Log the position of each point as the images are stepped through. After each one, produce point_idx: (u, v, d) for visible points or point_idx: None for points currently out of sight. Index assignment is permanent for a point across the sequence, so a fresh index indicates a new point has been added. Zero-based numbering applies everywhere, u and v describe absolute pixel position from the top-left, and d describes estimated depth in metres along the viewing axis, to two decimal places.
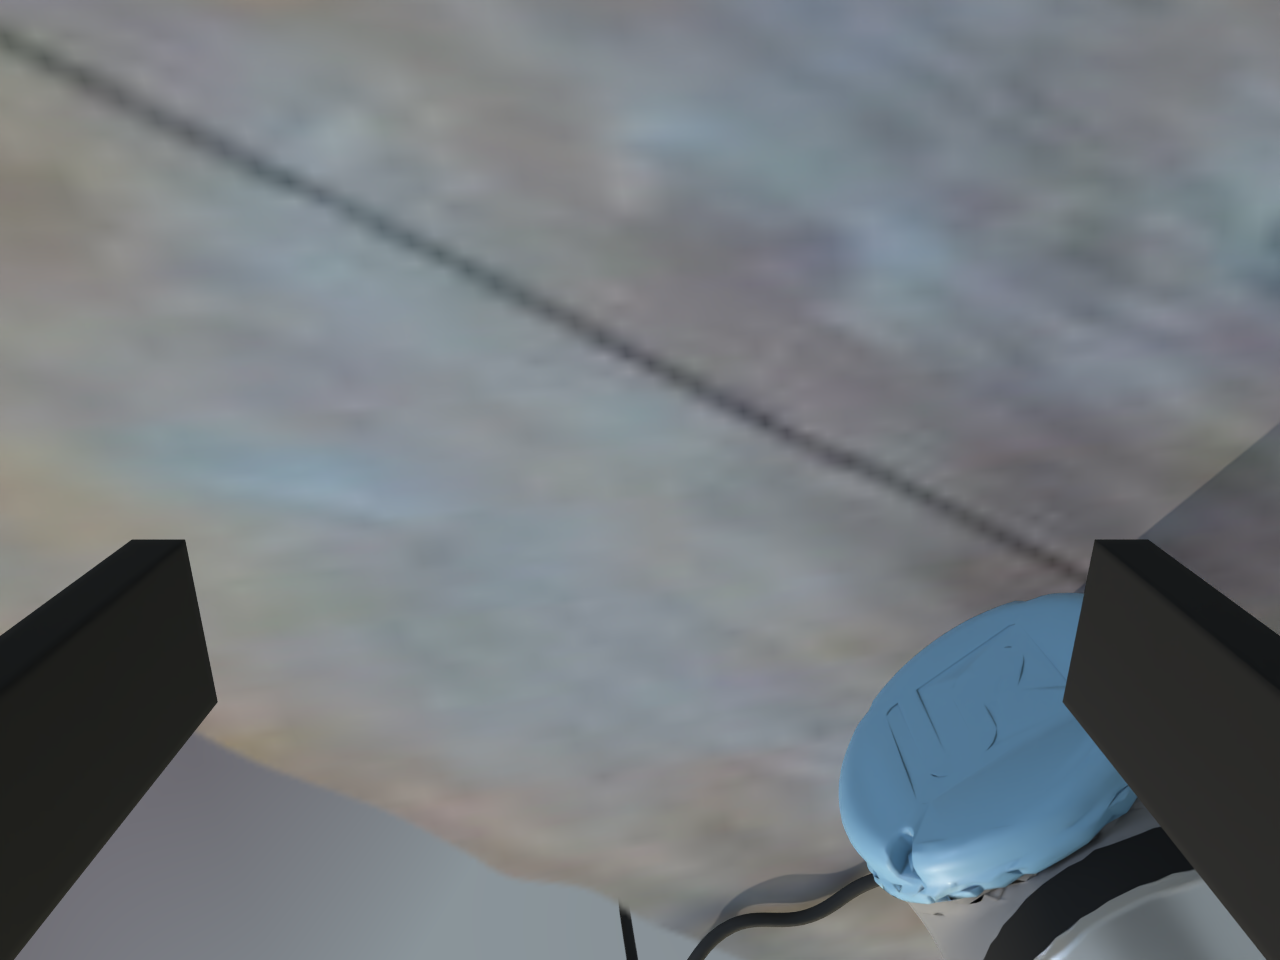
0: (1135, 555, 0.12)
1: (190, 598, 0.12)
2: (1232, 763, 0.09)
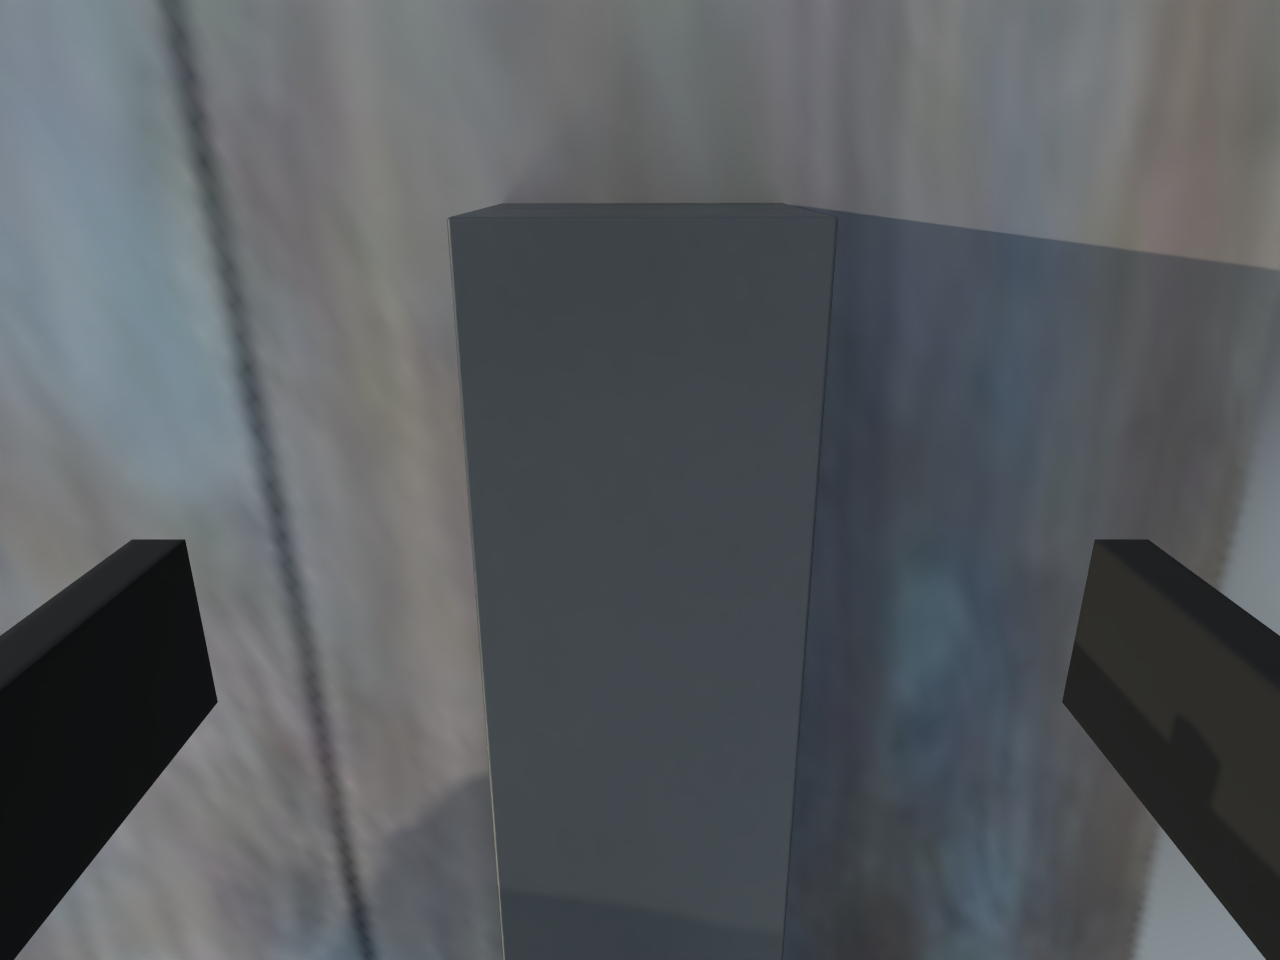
0: (1135, 555, 0.12)
1: (190, 598, 0.12)
2: (1232, 763, 0.09)
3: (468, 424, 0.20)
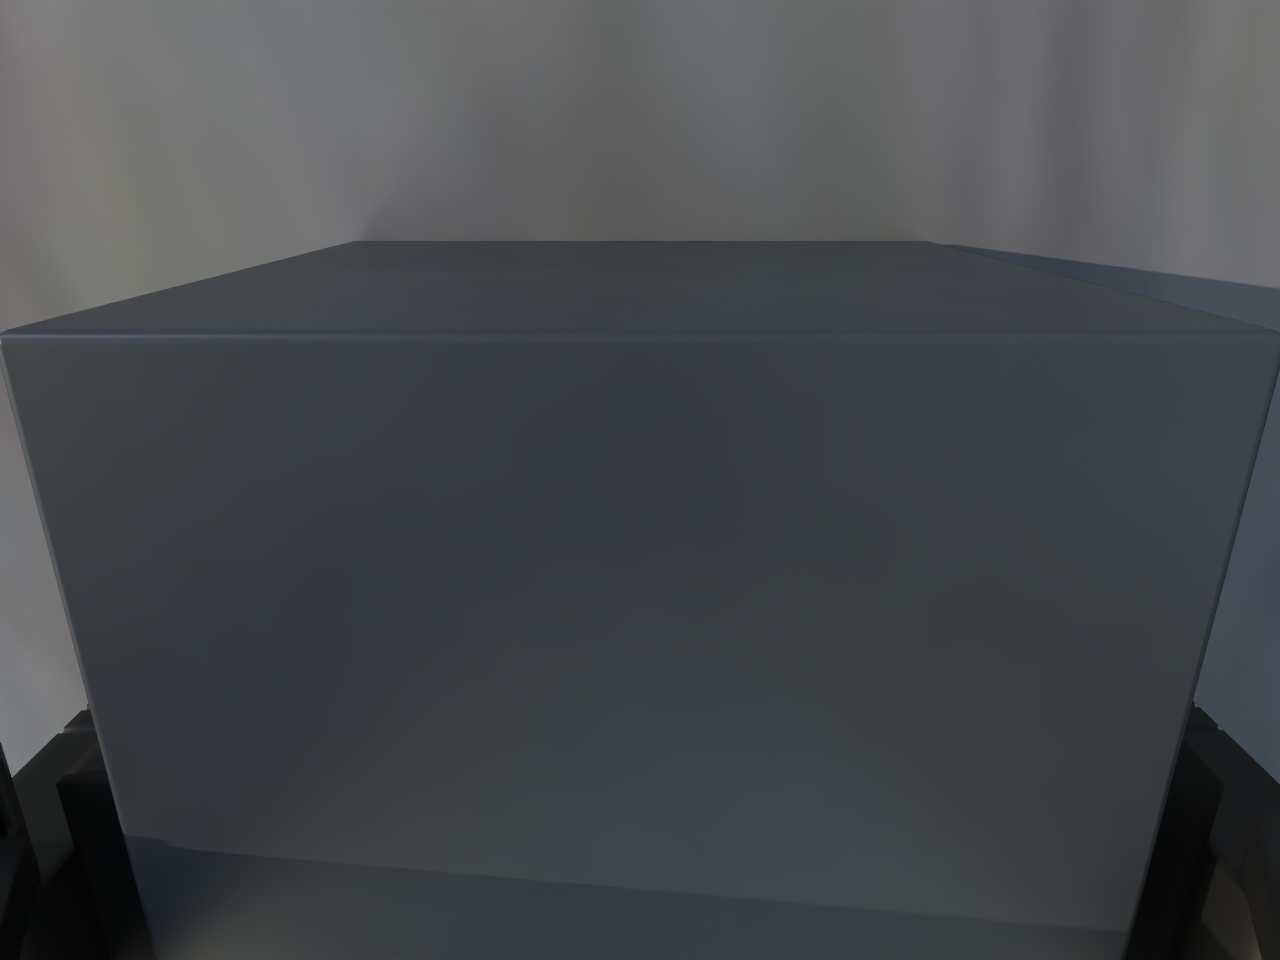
0: None
1: None
2: None
3: (151, 889, 0.07)
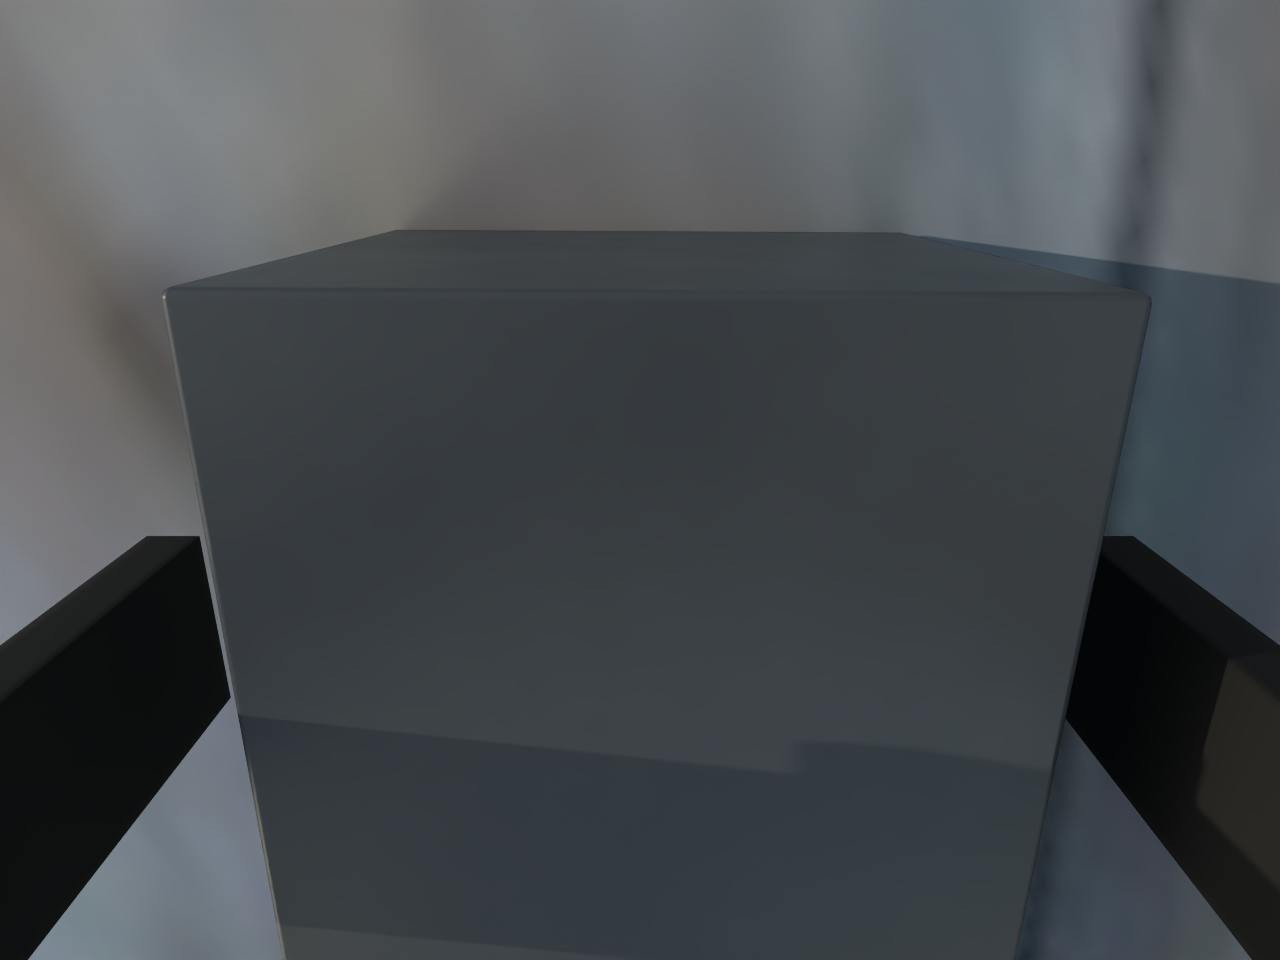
0: (1119, 551, 0.12)
1: (204, 594, 0.12)
2: (1212, 756, 0.09)
3: (256, 746, 0.09)
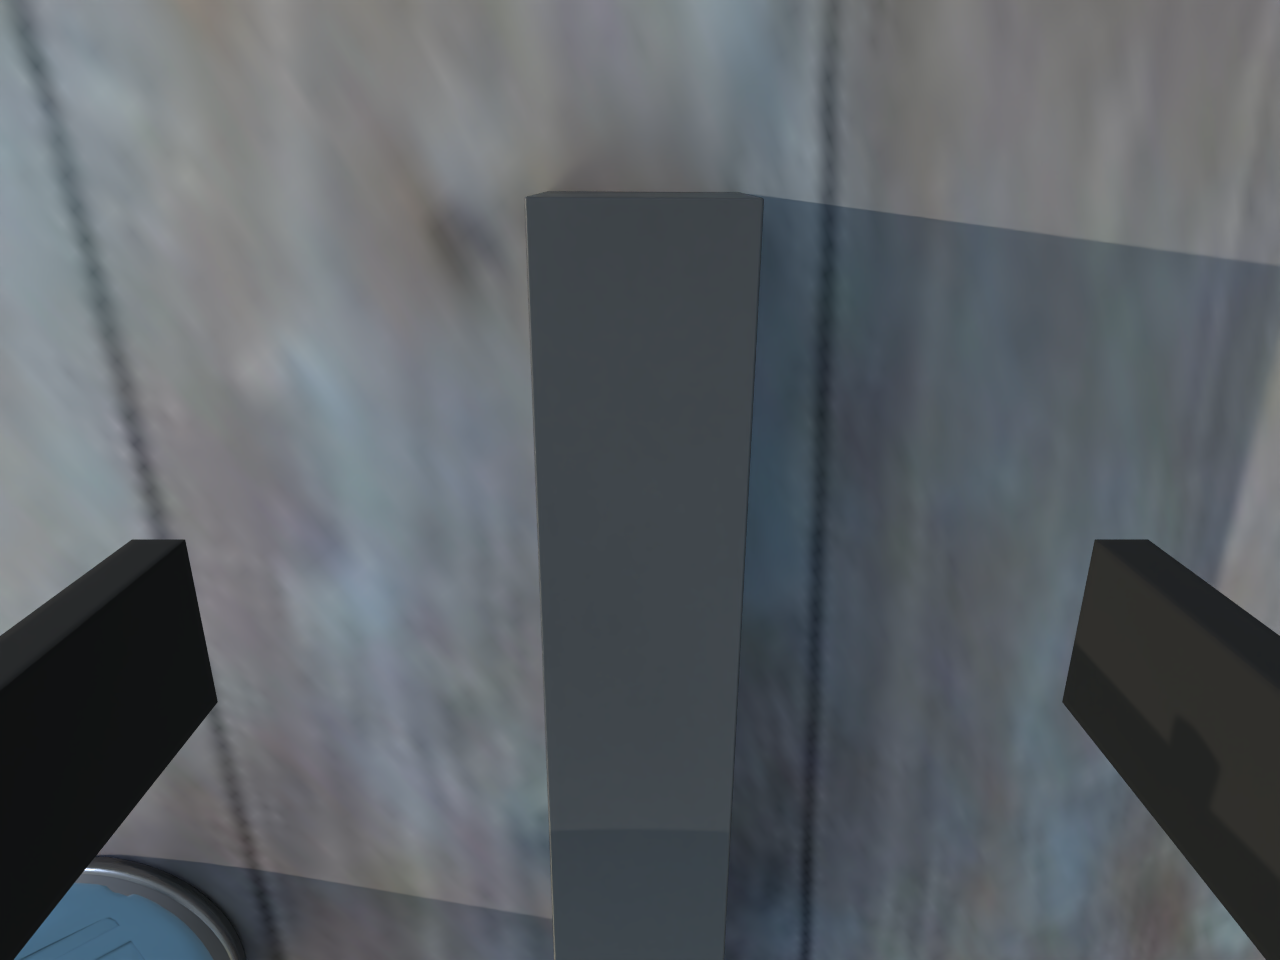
0: (1135, 555, 0.12)
1: (190, 598, 0.12)
2: (1232, 763, 0.09)
3: (533, 328, 0.32)
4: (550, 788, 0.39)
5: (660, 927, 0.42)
